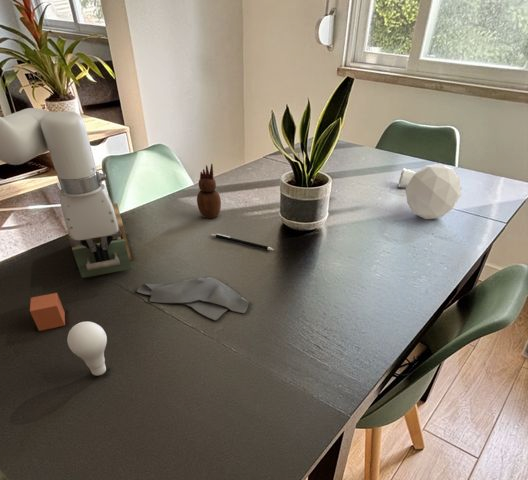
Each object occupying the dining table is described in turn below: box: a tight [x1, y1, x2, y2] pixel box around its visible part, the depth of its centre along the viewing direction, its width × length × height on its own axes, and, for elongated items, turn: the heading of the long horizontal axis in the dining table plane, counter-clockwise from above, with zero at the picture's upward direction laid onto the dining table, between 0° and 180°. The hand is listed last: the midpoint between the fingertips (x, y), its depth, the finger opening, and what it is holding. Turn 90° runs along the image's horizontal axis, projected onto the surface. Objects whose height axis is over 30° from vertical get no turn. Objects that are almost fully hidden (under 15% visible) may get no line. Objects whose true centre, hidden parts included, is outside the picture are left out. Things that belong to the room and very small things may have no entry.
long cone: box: [397, 168, 418, 188], centre depth 139 cm, size 6×6×19 cm
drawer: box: [71, 237, 132, 279], centre depth 101 cm, size 18×11×7 cm, turn 20°
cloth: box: [136, 276, 250, 321], centre depth 94 cm, size 26×14×2 cm, turn 63°
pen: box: [211, 233, 275, 251], centre depth 112 cm, size 1×19×1 cm, turn 62°
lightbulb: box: [66, 321, 108, 377], centre depth 73 cm, size 6×6×11 cm
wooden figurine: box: [196, 163, 222, 219], centre depth 122 cm, size 7×6×15 cm
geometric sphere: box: [405, 162, 462, 220], centre depth 120 cm, size 14×15×15 cm
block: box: [29, 292, 66, 332], centre depth 87 cm, size 5×5×5 cm
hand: (104, 263), depth 97 cm, fingers closed
